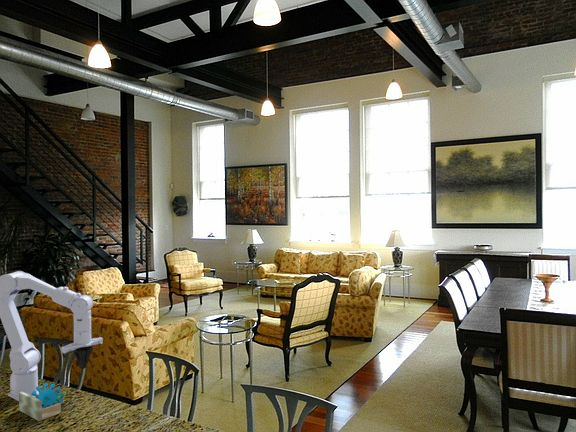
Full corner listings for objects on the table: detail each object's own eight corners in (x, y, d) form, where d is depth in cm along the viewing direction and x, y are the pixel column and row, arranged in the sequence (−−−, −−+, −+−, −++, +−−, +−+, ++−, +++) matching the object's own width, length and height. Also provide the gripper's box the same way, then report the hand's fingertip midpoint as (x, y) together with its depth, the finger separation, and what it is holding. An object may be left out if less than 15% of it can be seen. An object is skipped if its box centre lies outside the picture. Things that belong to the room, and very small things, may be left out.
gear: (33, 412, 145) (29, 384, 150) (27, 422, 147) (24, 393, 153) (69, 406, 152) (65, 379, 158) (63, 415, 155) (59, 388, 161)
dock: (19, 410, 150) (19, 392, 150) (41, 403, 156) (40, 385, 156) (38, 421, 143) (38, 402, 142) (61, 412, 148) (60, 394, 148)
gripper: (68, 336, 155) (69, 376, 155) (107, 327, 166) (107, 364, 167) (57, 333, 159) (58, 372, 159) (96, 324, 171) (96, 360, 171)
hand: (82, 367), depth 163 cm, fingers closed
